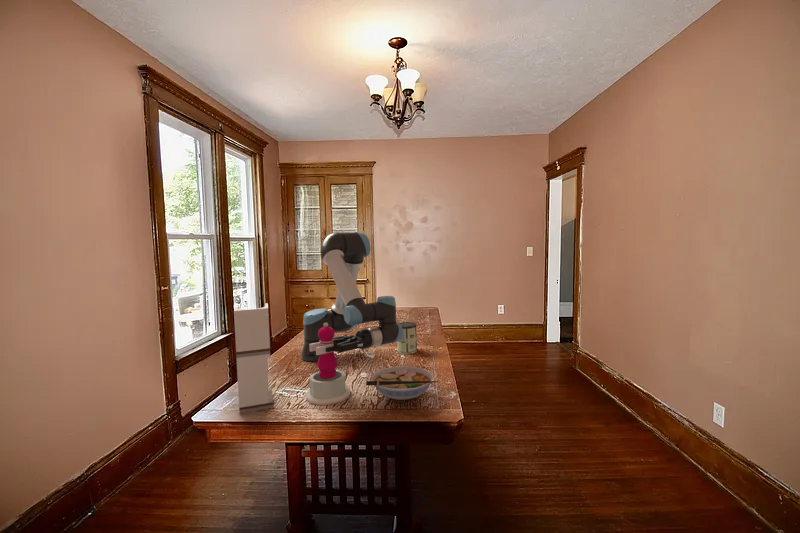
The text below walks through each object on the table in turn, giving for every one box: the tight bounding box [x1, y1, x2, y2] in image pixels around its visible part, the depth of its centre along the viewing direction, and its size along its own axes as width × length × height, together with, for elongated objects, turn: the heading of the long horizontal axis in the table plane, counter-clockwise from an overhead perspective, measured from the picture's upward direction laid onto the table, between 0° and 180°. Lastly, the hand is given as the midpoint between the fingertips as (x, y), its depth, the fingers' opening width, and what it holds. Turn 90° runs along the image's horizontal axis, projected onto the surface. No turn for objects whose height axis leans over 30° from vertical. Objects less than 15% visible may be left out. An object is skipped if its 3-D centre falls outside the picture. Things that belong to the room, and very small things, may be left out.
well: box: [305, 369, 351, 406], centre depth 135 cm, size 16×16×8 cm
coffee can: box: [396, 321, 418, 355], centre depth 188 cm, size 10×10×14 cm
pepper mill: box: [316, 323, 338, 379], centre depth 134 cm, size 7×7×20 cm
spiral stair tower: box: [233, 302, 274, 414], centre depth 129 cm, size 11×11×35 cm
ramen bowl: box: [365, 365, 439, 401], centre depth 133 cm, size 25×23×8 cm
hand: (313, 349), depth 131 cm, fingers closed on pepper mill, 5 cm apart
